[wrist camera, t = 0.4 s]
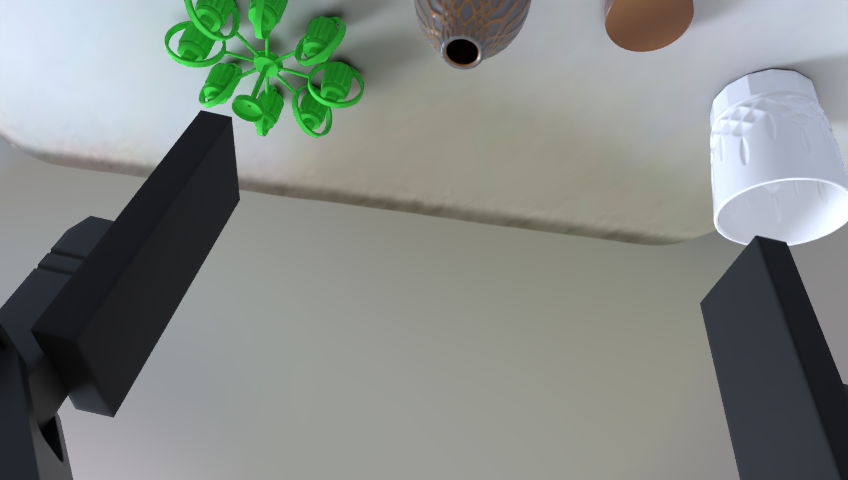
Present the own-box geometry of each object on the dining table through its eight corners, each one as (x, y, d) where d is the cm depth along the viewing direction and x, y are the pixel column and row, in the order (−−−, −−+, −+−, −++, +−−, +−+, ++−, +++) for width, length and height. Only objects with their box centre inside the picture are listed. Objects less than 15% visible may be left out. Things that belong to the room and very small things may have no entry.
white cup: (709, 66, 41) (724, 180, 36) (841, 55, 38) (877, 176, 33) (695, 141, 47) (706, 247, 42) (807, 136, 45) (833, 247, 40)
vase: (543, -95, 33) (533, 4, 29) (528, 8, 39) (518, 104, 35) (423, -102, 34) (395, -7, 29) (426, 1, 40) (404, 93, 35)
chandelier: (356, 132, 53) (338, 193, 49) (189, 85, 51) (158, 145, 47) (384, -5, 40) (363, 65, 36) (162, -75, 38) (117, -8, 35)
